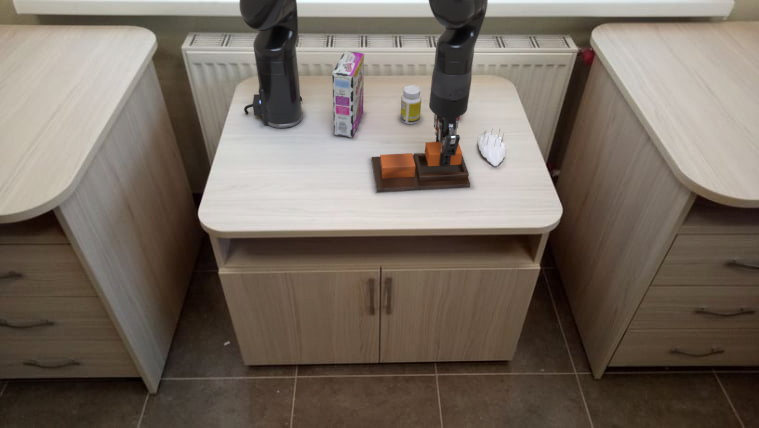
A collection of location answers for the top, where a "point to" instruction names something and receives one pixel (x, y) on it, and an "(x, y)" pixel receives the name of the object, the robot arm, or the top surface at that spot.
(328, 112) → the top surface
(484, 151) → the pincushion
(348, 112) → the candy bar box
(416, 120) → the supplement bottle
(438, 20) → the robot arm
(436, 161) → the loose pad
